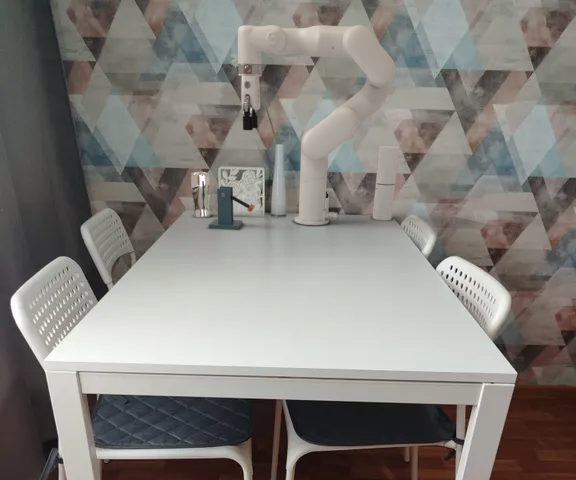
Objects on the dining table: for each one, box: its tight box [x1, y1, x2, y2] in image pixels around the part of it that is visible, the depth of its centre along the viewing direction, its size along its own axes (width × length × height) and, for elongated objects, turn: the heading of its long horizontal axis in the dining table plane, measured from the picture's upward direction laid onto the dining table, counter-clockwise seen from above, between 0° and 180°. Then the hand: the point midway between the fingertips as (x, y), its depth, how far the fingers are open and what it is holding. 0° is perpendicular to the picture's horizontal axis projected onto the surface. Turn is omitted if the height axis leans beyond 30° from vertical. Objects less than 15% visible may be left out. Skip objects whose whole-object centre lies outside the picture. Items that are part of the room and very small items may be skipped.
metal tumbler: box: [190, 171, 211, 219], centre depth 201 cm, size 7×7×15 cm
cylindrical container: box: [372, 145, 400, 221], centre depth 203 cm, size 7×7×25 cm
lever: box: [230, 191, 255, 213], centre depth 187 cm, size 12×5×2 cm, turn 84°
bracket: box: [208, 185, 244, 231], centre depth 188 cm, size 10×9×13 cm
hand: (250, 129), depth 186 cm, fingers open, 9 cm apart
